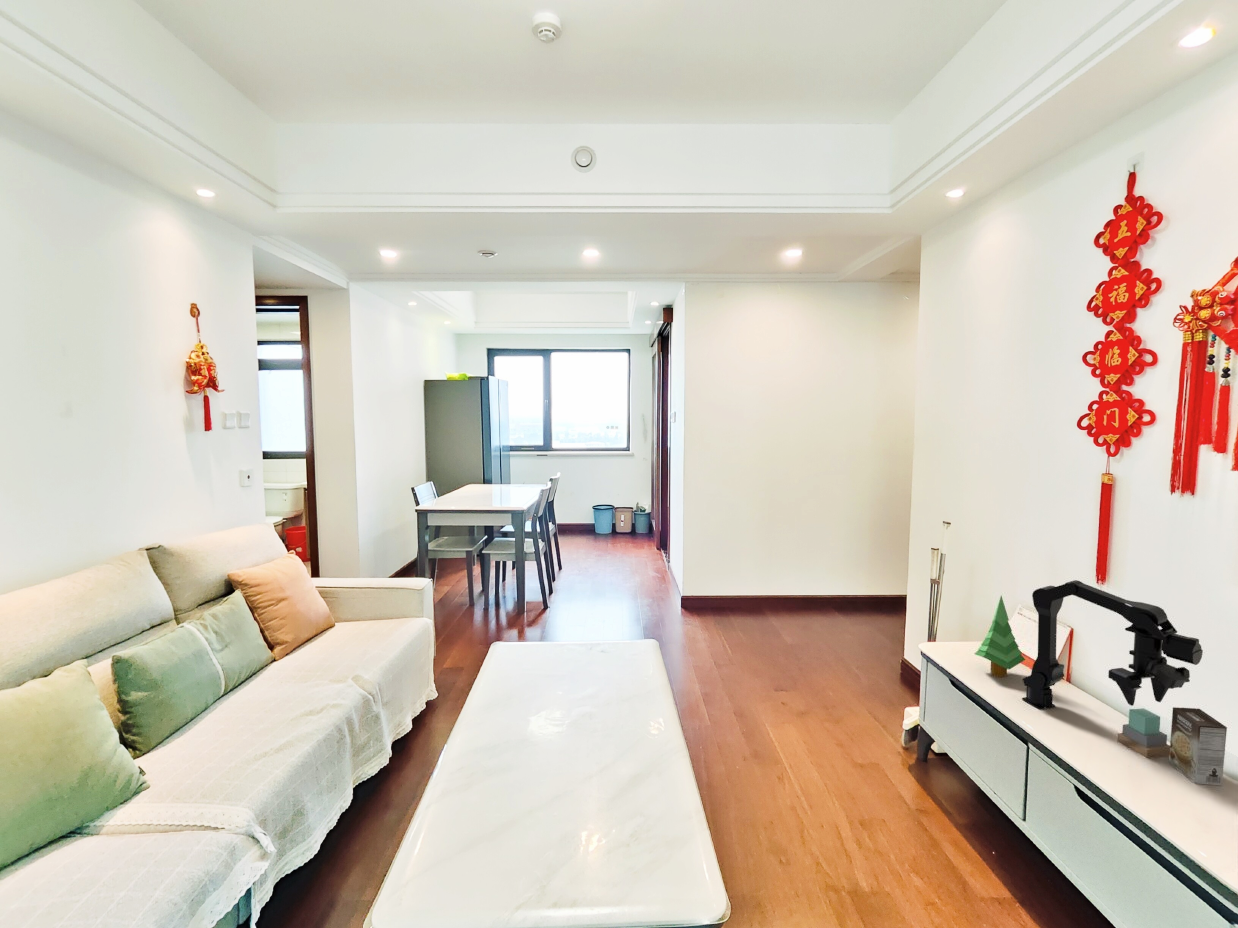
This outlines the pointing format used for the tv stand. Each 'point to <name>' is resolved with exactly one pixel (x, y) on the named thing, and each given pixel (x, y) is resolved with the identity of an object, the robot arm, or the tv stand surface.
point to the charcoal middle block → (1145, 737)
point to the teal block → (1144, 721)
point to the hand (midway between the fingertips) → (1144, 703)
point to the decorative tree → (1000, 644)
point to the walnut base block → (1142, 750)
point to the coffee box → (1197, 745)
